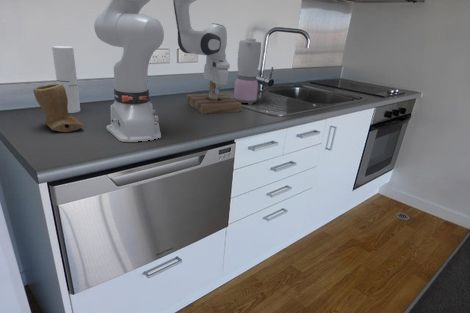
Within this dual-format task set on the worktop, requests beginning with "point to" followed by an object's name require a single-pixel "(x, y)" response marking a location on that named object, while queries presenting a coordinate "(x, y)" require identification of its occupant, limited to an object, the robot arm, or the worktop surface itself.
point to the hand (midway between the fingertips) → (214, 91)
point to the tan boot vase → (56, 107)
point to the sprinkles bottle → (212, 91)
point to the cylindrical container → (67, 75)
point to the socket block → (213, 104)
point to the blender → (247, 71)
